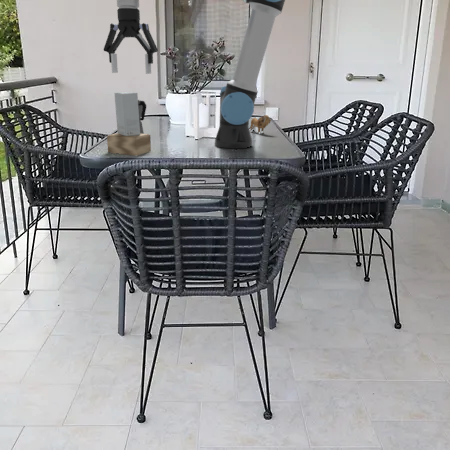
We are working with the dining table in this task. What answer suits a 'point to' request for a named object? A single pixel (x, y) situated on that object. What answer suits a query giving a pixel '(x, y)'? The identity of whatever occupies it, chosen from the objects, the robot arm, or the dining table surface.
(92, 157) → the dining table surface
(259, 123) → the lion figurine
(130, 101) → the skincare box
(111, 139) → the oak block
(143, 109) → the coffeepot
